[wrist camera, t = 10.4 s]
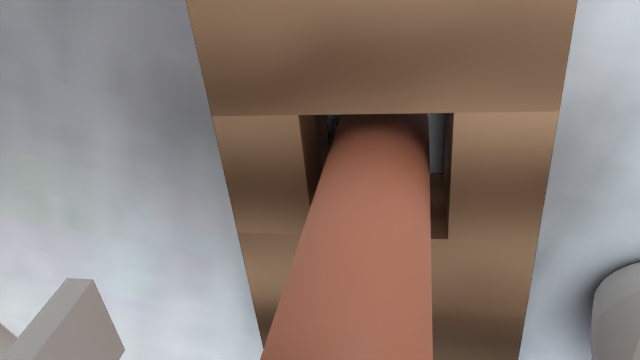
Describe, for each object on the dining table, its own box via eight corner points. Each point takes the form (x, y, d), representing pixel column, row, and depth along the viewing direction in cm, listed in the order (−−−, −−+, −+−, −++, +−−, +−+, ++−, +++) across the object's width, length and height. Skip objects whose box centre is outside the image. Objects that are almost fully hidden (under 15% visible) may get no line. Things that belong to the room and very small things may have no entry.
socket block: (233, -32, 21) (184, -5, 16) (546, -55, 18) (582, -30, 14) (288, 292, 30) (266, 361, 26) (500, 304, 28) (514, 383, 23)
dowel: (337, 82, 22) (244, 320, 11) (429, 80, 22) (435, 334, 10) (344, 160, 25) (271, 431, 13) (428, 161, 24) (431, 450, 12)
